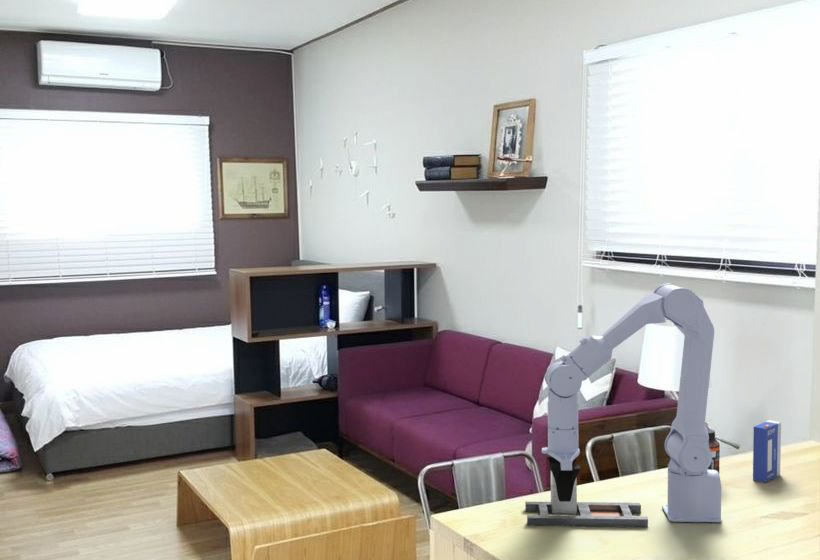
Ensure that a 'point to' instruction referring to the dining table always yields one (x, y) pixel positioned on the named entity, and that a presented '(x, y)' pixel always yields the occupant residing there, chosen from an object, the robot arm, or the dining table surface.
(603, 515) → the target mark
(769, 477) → the walkman
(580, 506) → the rail
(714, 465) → the supplement bottle
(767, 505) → the dining table surface
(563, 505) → the steel peg
